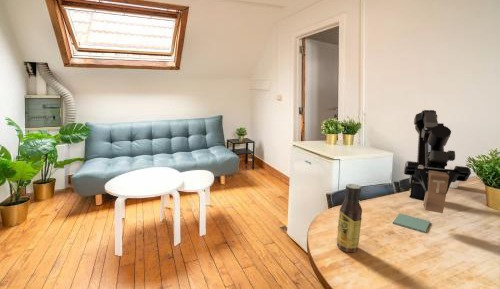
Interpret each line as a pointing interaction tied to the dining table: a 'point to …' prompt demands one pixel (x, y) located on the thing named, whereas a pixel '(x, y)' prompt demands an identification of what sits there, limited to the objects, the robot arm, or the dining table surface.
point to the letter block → (436, 191)
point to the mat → (411, 222)
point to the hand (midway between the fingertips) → (436, 192)
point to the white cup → (453, 184)
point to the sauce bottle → (350, 220)
